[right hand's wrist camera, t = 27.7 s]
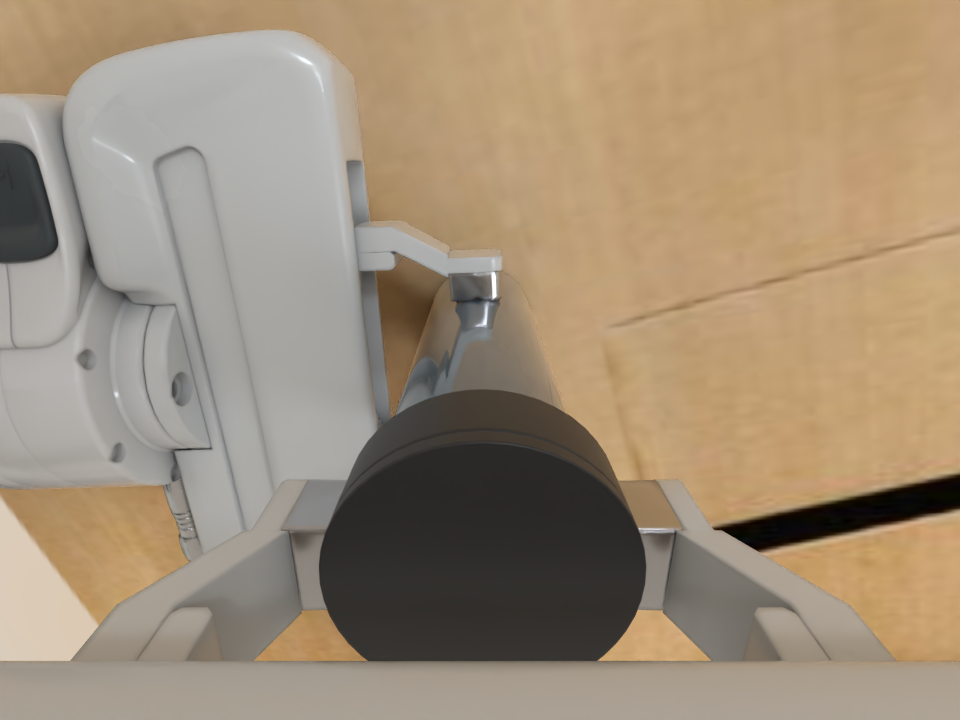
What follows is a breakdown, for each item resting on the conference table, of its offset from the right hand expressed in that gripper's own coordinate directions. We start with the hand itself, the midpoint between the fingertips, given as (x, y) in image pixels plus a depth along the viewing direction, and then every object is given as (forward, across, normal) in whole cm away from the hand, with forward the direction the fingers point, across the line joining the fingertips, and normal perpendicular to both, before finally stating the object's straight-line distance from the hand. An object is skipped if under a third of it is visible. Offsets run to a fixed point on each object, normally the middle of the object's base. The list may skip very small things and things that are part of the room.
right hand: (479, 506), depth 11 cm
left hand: (+9, -1, 0) cm, 9 cm away
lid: (-2, 0, 0) cm, 2 cm away
